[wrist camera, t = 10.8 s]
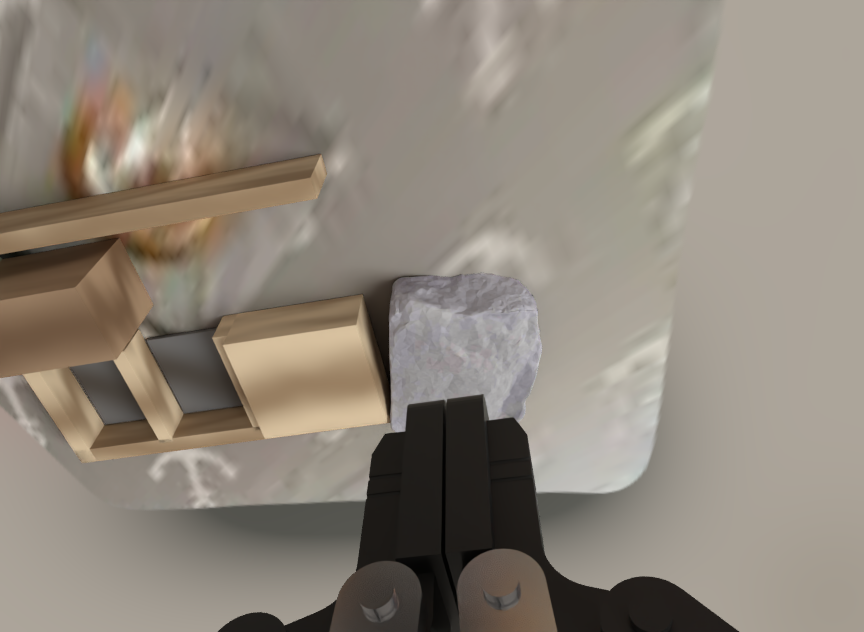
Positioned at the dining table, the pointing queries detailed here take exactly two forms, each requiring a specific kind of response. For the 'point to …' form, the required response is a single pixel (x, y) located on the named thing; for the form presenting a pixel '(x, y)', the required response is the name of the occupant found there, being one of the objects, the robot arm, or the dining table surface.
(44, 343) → the walnut block
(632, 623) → the robot arm
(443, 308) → the stone block
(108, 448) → the box
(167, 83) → the dining table surface
